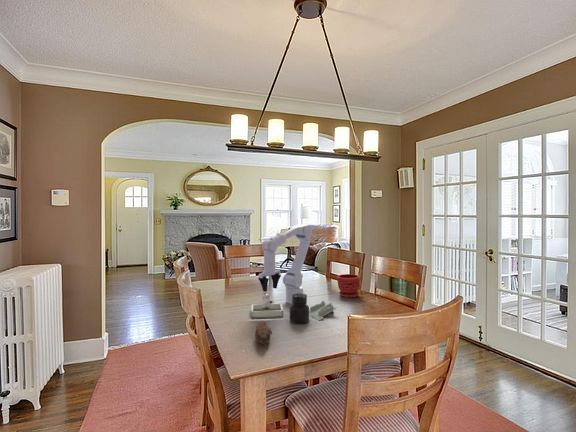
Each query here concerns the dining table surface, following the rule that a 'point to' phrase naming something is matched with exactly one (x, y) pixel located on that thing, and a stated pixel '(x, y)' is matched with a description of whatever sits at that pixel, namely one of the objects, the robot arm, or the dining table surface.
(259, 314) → the tray
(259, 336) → the bird sculpture
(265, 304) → the silver rounded piece
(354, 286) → the plant pot
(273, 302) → the socket base
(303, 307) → the ink bottle
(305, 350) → the dining table surface
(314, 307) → the metal bracket
